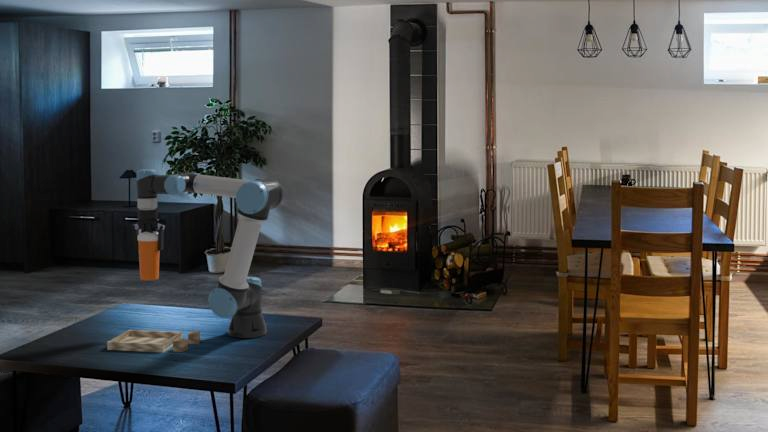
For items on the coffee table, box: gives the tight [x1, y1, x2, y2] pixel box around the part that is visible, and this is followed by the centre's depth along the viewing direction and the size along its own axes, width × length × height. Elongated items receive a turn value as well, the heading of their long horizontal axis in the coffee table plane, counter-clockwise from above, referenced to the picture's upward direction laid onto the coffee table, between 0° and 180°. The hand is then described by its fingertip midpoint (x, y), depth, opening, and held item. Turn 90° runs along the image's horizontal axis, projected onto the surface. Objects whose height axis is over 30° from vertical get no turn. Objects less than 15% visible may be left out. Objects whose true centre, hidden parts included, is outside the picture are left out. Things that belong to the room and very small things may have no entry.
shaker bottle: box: [137, 228, 161, 281], centre depth 334 cm, size 9×9×20 cm
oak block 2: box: [187, 330, 201, 345], centre depth 324 cm, size 4×4×4 cm
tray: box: [106, 329, 183, 353], centre depth 321 cm, size 22×18×3 cm
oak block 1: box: [172, 337, 189, 353], centre depth 314 cm, size 4×4×4 cm
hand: (149, 267), depth 334 cm, fingers open, 4 cm apart
